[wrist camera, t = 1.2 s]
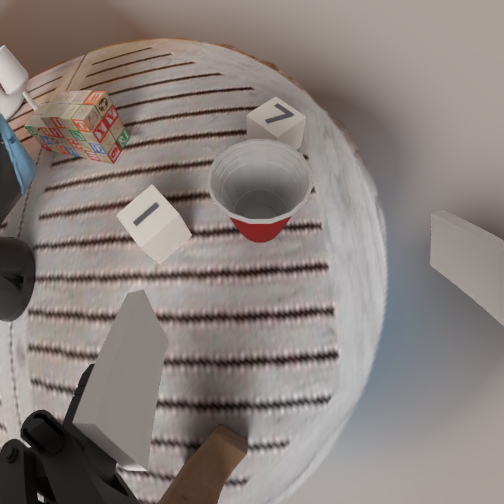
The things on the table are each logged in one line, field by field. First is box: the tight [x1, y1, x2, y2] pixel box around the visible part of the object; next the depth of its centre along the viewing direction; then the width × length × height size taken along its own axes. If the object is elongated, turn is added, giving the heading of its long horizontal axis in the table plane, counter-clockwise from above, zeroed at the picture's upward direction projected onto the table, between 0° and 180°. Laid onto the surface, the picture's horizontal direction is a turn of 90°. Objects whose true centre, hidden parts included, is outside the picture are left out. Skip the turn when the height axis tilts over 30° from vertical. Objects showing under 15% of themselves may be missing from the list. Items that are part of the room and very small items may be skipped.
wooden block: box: [158, 424, 248, 504], centre depth 21 cm, size 9×4×18 cm, turn 145°
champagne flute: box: [0, 45, 38, 111], centre depth 39 cm, size 7×7×24 cm
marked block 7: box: [246, 97, 306, 150], centre depth 40 cm, size 6×6×7 cm
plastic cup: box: [207, 139, 313, 242], centre depth 34 cm, size 11×11×12 cm
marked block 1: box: [116, 184, 192, 264], centre depth 36 cm, size 6×6×7 cm
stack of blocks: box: [24, 90, 130, 164], centre depth 40 cm, size 21×6×12 cm, turn 71°
